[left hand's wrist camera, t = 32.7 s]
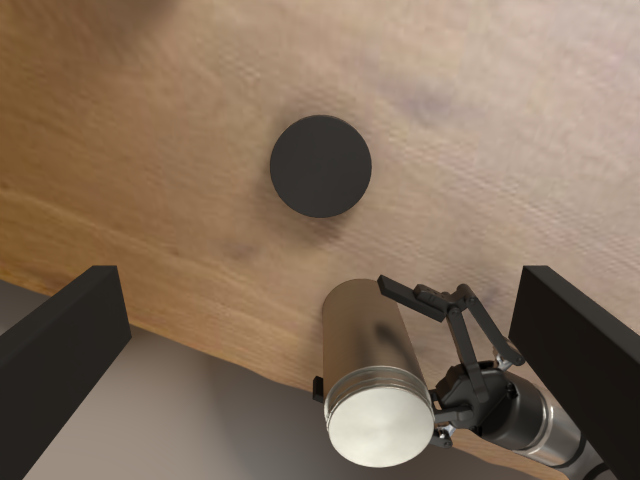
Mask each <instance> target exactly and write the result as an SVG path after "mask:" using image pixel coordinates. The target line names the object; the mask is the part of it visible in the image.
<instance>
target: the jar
mask: <svg viewBox="0 0 640 480" xmlns="http://www.w3.org/2000/svg"><path fill="white" fill-rule="evenodd" d="M323 388H324V416H325V420H326V422H327V431H328V433H329V438H330V441H331V443H332V445H333V446H334V448H335V449H336V450H337V452H338V453H339V454H341V455H342V456H343V457H344V458H346V459H348V460H349V461H351V462H354V463H356V464H359V465H363V466H368V467H389V466H394V465H398V464H401V463H404V462H406V461H408V460H410V459H412V458H414V457H415V456H417V455H418V454H419V453H420V452H422V450H423V449H425V447H426V446H427V445H428V443H429V442H430V440H431V438H432V435H433V431H434V421H435V417H434V413H433V409H432V407H431V405H432V403H431V397H430V394H429V391H428V388H427V386H426V383H425V380H424V377H423V375H422V372H421V369H420V366H419V364H418V361H417V358H416V355H415V353H414V350H413V347H412V344H411V342H410V339H409V336H408V333H407V331H406V328H405V325H404V322H403V320H402V317H401V314H400V311H399V309H398V306H397V303H396V301H394V300H392V299H390V298H388V297H386V296H384V295H381V292H380V289H379V286H378V282H376V281H372V280H368V279H354V280H350V281H347V282H344V283H342V284H340V285H339V286H337V287H336V288H335V289H333V290H332V291H331V292H330V294H329V295H328V296H327V298H326V300H325V302H324V306H323Z"/></svg>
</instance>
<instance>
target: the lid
mask: <svg viewBox="0 0 640 480" xmlns="http://www.w3.org/2000/svg"><path fill="white" fill-rule="evenodd" d="M371 169H372V165H371V157H370V153H369V150H368V147H367V145H366V143H365V141H364V139H363V138H362V136H361V135H360V134H359V133H358V132H357V131H356V130H355V129H354V128H353V127H352V126H351V125H350V124H348V123H347V122H345V121H343V120H341V119H339V118H336V117H333V116H328V115H314V116H309V117H305V118H303V119H300V120H298V121H297V122H295V123H293V124H292V125H291V126H290V127H288V128H287V129H286V130H285V131H284V133H283V134H282V135H281V136H280V138H279V139H278V141H277V142H276V144H275V146H274V149H273V151H272V155H271V161H270V173H271V179H272V182H273V185H274V187H275V190H276V191H277V193H278V195H279V196H280V198H281V199H282V200H283V201H284V202H285V203H286V204H287V205H288V206H289V207H290V208H292V209H293V210H295V211H297V212H298V213H301V214H303V215H306V216H310V217H316V218H324V217H331V216H336V215H338V214H341V213H343V212H345V211H347V210H348V209H350V208H351V207H353V206H354V205H355V204H356V203H357V202H358V201H359V200H360V199H361V197H362V196H363V194H364V193H365V191H366V189H367V187H368V184H369V181H370V177H371Z"/></svg>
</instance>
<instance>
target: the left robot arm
mask: <svg viewBox="0 0 640 480" xmlns="http://www.w3.org/2000/svg"><path fill="white" fill-rule="evenodd" d="M131 338H132V336H131V331H130V327H129V322H128V317H127V312H126V308H125V303H124V298H123V293H122V289H121V284H120V279H119V275H118V270H117V266H92V267H90V268H89V269H88V270H86V271H85V272H84V273H83V274H81V275H80V276H79V277H77V278H76V279H75V280H73V281H72V282H71V283H69V284H68V285H67V286H65V287H64V288H63V289H61V290H60V291H59V292H58V293H56V294H55V295H54V296H52V297H51V298H50V299H48V300H47V301H46V302H44V303H43V304H42V305H40V306H39V307H38V308H37V309H35V310H34V311H33V312H31V313H30V314H29V315H27V316H26V317H25V318H23V319H22V320H21V321H19V322H18V323H17V324H15V325H14V326H13V327H11V328H10V329H9V330H8V331H6V332H5V333H4V334H2V335H1V336H0V480H22V479H23V478H24V477H25V475H26V474H27V473H28V472H29V470H30V469H31V468H32V466H33V465H34V464H35V463H36V461H37V460H38V459H39V457H40V456H41V455H42V453H43V452H44V451H45V450H46V448H47V447H48V446H49V444H50V443H51V442H52V440H53V439H54V438H55V437H56V435H57V434H58V433H59V431H60V430H61V429H62V427H63V426H64V425H65V424H66V422H67V421H68V420H69V418H70V417H71V416H72V414H73V413H74V412H75V411H76V409H77V408H78V407H79V405H80V404H81V403H82V401H83V400H84V399H85V398H86V396H87V395H88V394H89V392H90V391H91V390H92V389H93V387H94V386H95V385H96V383H97V382H98V381H99V379H100V378H101V377H102V376H103V374H104V373H105V372H106V370H107V369H108V368H109V366H110V365H111V364H112V362H113V361H114V360H115V359H116V357H117V356H118V355H119V353H120V352H121V351H122V350H123V348H124V347H125V346H126V344H127V343H128V342H129V340H130V339H131ZM508 338H509V339H510V340H511V342H512V343H513V344H514V346H515V347H516V348H517V350H518V351H519V352H520V353H521V355H522V356H523V357H524V359H525V360H526V361H527V363H528V364H529V365H530V366H531V368H532V369H533V370H534V372H535V373H536V374H537V376H538V377H539V378H540V379H541V381H542V382H543V383H544V385H545V386H546V387H547V389H548V390H549V391H550V392H551V394H552V395H553V396H554V398H555V399H556V400H557V402H558V403H559V404H560V405H561V407H562V408H563V409H564V411H565V412H566V413H567V414H568V416H569V417H570V418H571V420H572V421H573V422H574V424H575V425H576V426H577V427H578V429H579V430H580V431H581V433H582V434H583V435H584V437H585V438H586V439H587V440H588V442H589V443H590V444H591V446H592V447H593V448H594V450H595V451H596V452H597V453H598V455H599V456H600V457H601V459H602V460H603V461H604V463H605V464H606V465H607V466H608V468H609V469H610V470H611V472H612V473H613V474H614V476H615V477H616V478H617V479H618V480H640V336H639V335H638V334H636V333H635V332H634V331H632V330H631V329H630V328H629V327H627V326H626V325H625V324H623V323H622V322H621V321H619V320H618V319H617V318H615V317H614V316H613V315H611V314H610V313H609V312H607V311H606V310H605V309H604V308H602V307H601V306H600V305H598V304H597V303H596V302H594V301H593V300H592V299H590V298H589V297H588V296H586V295H585V294H584V293H582V292H581V291H580V290H579V289H577V288H576V287H575V286H573V285H572V284H571V283H569V282H568V281H567V280H565V279H564V278H563V277H561V276H560V275H559V274H557V273H556V272H555V271H554V270H552V269H551V268H550V267H548V266H523V270H522V275H521V279H520V284H519V289H518V293H517V298H516V303H515V308H514V312H513V317H512V322H511V327H510V331H509V336H508Z"/></svg>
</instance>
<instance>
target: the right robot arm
mask: <svg viewBox="0 0 640 480" xmlns="http://www.w3.org/2000/svg"><path fill="white" fill-rule="evenodd" d="M377 282H378V286H379V289H380V292H381V295H384V296H386V297H388V298H390V299H392V300H394V301H396V302H398V303H401V304H403V305H405V306H407V307H409V308H411V309H413V310H415V311H418V312H420V313H422V314H424V315H426V316H428V317H430V318H432V319H435V320H437V321H439V322H442V321H443V320H444V318H445V317H446V319H447V322H448V325H449V328H450V331H451V334H452V337H453V340H454V343H455V346H456V349H457V353H458V356H459V359H460V362H461V364H458V365H456V366H455V367H454V366H451V367H450V369H449V370H448V371H447V374H446V376H445V377H444V378H443V379H442V380H441V381H439V383H438V384H437V385H436V386H435V387H436V389H433V390H428V391H429V394H430V397H431V403H432V405H431V407H432V409H433V413H434V417H435V421H434V431H433V435H432V438H431V440H430V442H429V443H428V444H432V445H435V446H438V447H442V448H446V449H447V448H450V447H451V446H452V445H453V443H452V440H451V438H450V437H451V435H452V434H453V432H454V431H455V430H456V428H457V429H469V430H471V431H472V432H473V433H475V434H476V435H478V436H479V437H480V438H482V439H484V440H486V441H489V442H491V443H494V444H496V445H498V446H501V447H503V448H506V449H508V450H511V451H513V452H514V453H516V454H519V455H521V456H524V457H526V458H529V459H531V460H534V461H536V462H539V463H541V464H544V465H546V466H548V467H551V468H554V469H556V470H558V471H560V472H562V473H564V474H565V475H566V476H567V477H568V478H569V480H618V479H617V478H616V477H615V476H614V474H613V473H612V472H611V470H610V469H609V468H608V466H607V465H606V464H605V463H604V461H603V460H602V459H601V457H600V456H599V455H598V453H597V452H596V451H595V450H594V448H593V447H592V446H591V444H590V443H589V442H588V440H587V439H586V438H585V437H584V435H583V434H582V433H581V431H580V430H579V429H578V427H577V426H576V425H575V424H574V422H573V421H572V420H571V418H570V417H569V416H568V414H567V413H566V412H565V411H564V409H563V408H562V407H561V405H560V404H559V403H558V402H557V400H556V399H555V398H554V396H553V395H552V394H551V392H550V391H549V390H547V389H545V388H543V387H540V386H538V385H536V384H533V383H531V382H529V381H528V380H526V379H523V378H521V377H519V376H517V375H515V374H513V373H510V372H508V371H506V370H507V369H508V368H509V367H510V366H511V365H512V364H514V365H516V366H521V365H523V364H524V363H525V361H526V360H525V359H524V357H523V356H522V355H521V353H520V352H519V351H518V350H517V348H516V347H515V346H514V344H513V343H512V342H511V341H510V340H508V339H507V338H505V337H504V336H502V334H501V333H500V331H499V330H498V328H497V327H496V325H495V324H494V322H493V321H492V319H491V318H490V316H489V315H488V313H487V312H486V310H485V308H484V307H483V305H482V304H481V302H480V301H479V299H478V298H477V297H476V295H475V294H474V293H473V291H472V290H471V289H470V288H469V286H468V285H467V284H461V285H459V286H458V287H457V291H456V292H454V293H453V294H451V295H450V294H449V293H448V292H442V293H439V292H437V291H435V290H433V289H431V288H429V287H427V286H425V285H421V284H417V286H416V287H415V289H414V290H412V289H410V288H408V287H406V286H404V285H402V284H400V283H398V282H396V281H393V280H391V279H389V278H387V277H385V276H383V275H380V277H379V278H378V280H377ZM466 308H468V309H469V310H470V312H471V313H472V315H473V316H474V318H475V319H476V321H477V322H478V324H479V325H480V327H481V328H482V330H483V331H484V332H485V334H486V335H487V337H488V338H489V340H490V341H491V343H492V344H493V349H494V350H493V354H494V356H495V361H491V360H488V361H480V362H477V360H476V357H475V353H474V350H473V347H472V344H471V341H470V338H469V335H468V332H467V329H466V325H465V322H464V319H463V316H462V313H461V312H462V311H463V310H465V309H466ZM313 400H316V401H318V402H321V403H323V404H324V388H323V378H321V377H319V376H316V377H315V378H314V380H313ZM434 401H438V402H439V404H440V407H441V409H442V410H437V409H436V408H435V405H434Z"/></svg>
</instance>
